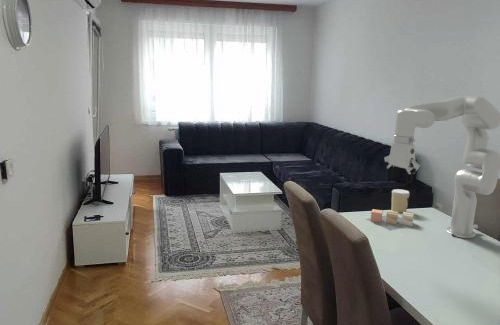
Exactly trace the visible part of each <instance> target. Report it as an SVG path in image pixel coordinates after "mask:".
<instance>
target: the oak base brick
mask: <svg viewBox="0 0 500 325" xmlns="http://www.w3.org/2000/svg"><path fill="white" fill-rule="evenodd" d="M398 215H399V212H395V211H392V210H387V212H386V216H387V217H386V223H391V224H397V217H399V216H398Z"/></svg>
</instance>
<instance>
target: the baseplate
mask: <svg viewBox="0 0 500 325" xmlns="http://www.w3.org/2000/svg"><path fill="white" fill-rule="evenodd" d="M386 217H387V215H382V221H381V223H379V222H373V221H371V217H370V218H365V220H366V221H369V222H371V223H373V224H375V225H378V226H379V227H382V228H383V229H385V230H388V231H394V230H401V229H405V228H410V227H415V226H418V224H417V223H414V222H413V224H412V226H409V225H403V224H402V217H399V216H398V217H397V224H391V223H386Z"/></svg>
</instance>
